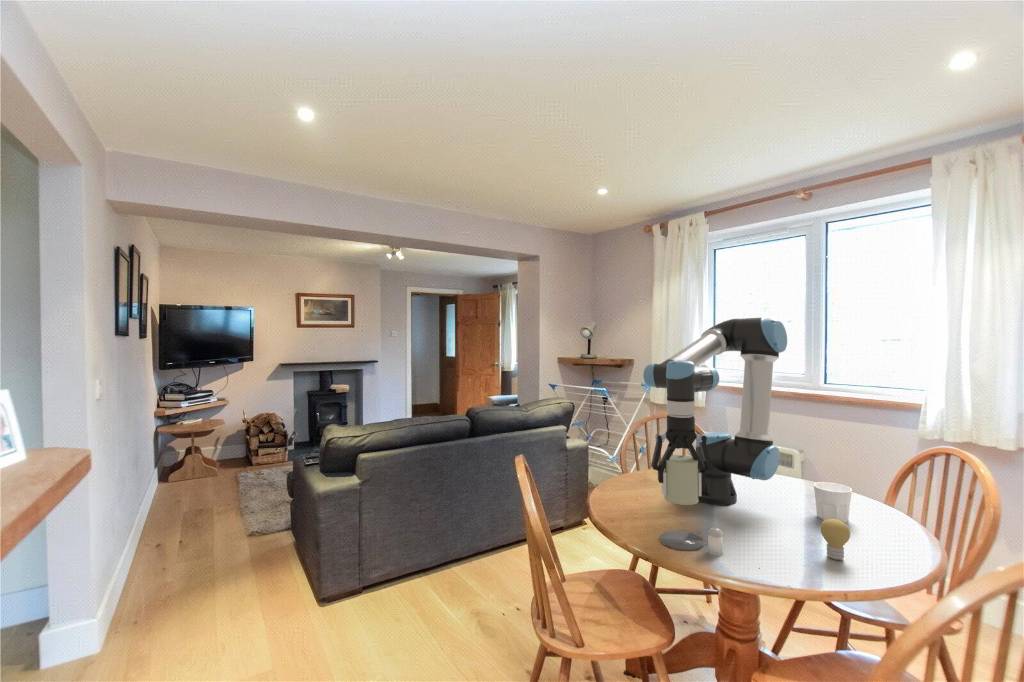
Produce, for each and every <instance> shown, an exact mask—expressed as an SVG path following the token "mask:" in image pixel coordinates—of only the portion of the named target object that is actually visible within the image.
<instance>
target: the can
mask: <svg viewBox="0 0 1024 682" xmlns="http://www.w3.org/2000/svg"><path fill="white" fill-rule="evenodd" d="M666 463H667V465H666V467H665V469H664V471H665V472H666V490H667V496H664V495H663V497H664V500H666V501H667V502H669V503H672V504H674V505H678V506H679V505H681V506H692V505H696V504H698V503H699V502H700V501H699V499H698V460H696V461H695V460H694V459H693V457H692V456H689V455H681V454H672V455H671V457H670V459H669V460H666Z"/></svg>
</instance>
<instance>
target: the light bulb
mask: <svg viewBox="0 0 1024 682" xmlns="http://www.w3.org/2000/svg"><path fill="white" fill-rule="evenodd" d="M819 530H820V533H821V535H822V538H823V539H824V540H825V542H826V555H827V557H829V559H831V560H835V561H841V560H843V559H845V556H844V555H845V552H844V551H845V547H844V546H845V545H846V544H847V543H848V542H849V540H850V539H851V530H850V527H849V526H848V525H847V523H843V522H842V521H840V520H837V519H828V520H825V521H824V520H823V521H822V522H821V525H820V529H819Z"/></svg>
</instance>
